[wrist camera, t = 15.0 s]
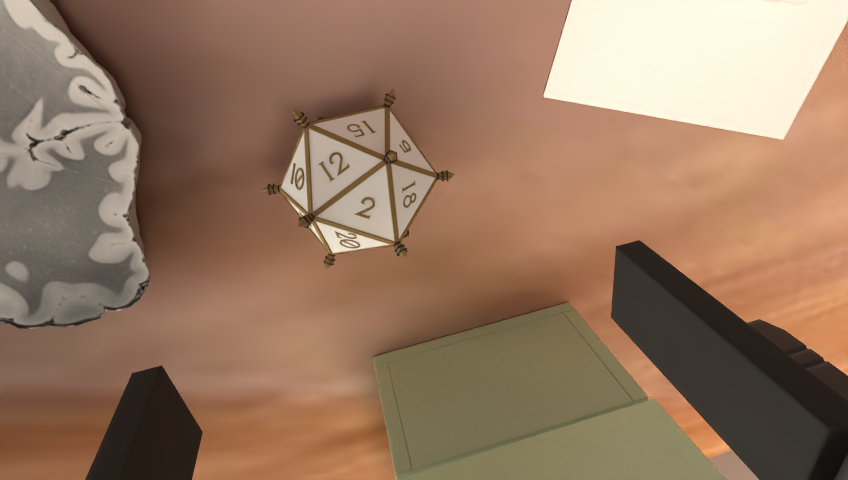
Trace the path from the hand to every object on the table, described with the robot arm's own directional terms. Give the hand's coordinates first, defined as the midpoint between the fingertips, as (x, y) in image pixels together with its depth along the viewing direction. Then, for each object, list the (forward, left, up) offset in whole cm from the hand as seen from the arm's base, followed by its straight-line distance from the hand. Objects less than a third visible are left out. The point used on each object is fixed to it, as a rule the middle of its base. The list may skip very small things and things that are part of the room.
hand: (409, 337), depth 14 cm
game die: (0, 0, -17) cm, 17 cm away
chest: (+6, -24, -16) cm, 30 cm away
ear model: (+25, +7, -17) cm, 31 cm away
